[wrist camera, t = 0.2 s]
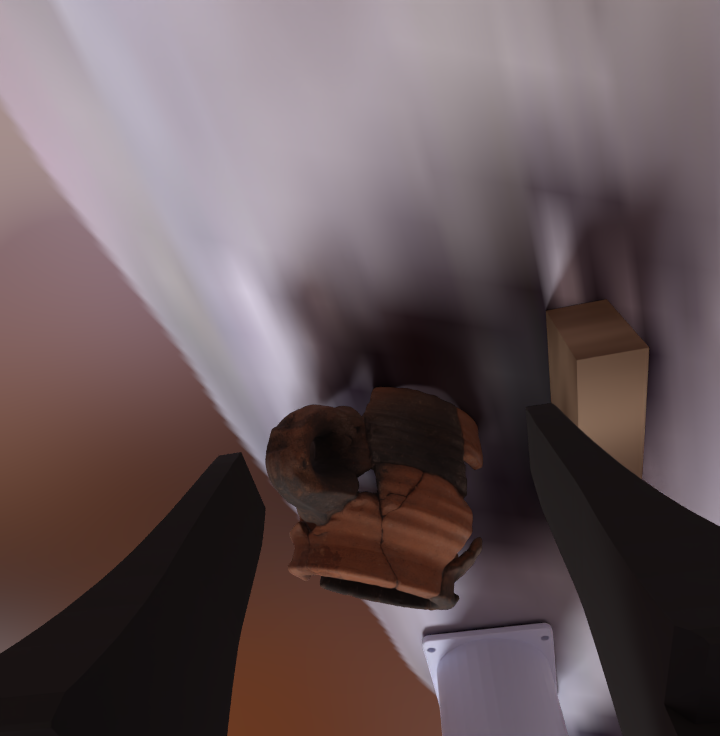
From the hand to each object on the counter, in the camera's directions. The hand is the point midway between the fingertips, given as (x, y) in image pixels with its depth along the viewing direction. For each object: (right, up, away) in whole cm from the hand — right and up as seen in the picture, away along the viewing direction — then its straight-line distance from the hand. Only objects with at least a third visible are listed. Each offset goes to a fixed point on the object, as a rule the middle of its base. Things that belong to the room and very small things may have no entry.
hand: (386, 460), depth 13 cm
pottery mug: (0, -2, +13) cm, 13 cm away
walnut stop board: (+10, 0, +11) cm, 15 cm away
